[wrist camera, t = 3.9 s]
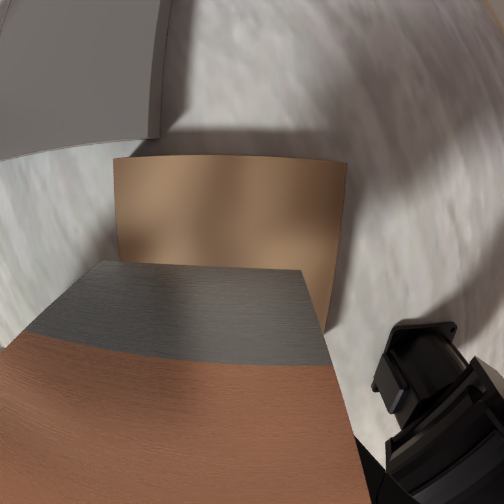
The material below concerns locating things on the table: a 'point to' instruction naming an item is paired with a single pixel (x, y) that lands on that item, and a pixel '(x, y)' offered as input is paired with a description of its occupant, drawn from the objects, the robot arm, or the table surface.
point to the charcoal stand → (80, 73)
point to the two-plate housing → (176, 393)
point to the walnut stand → (233, 214)
